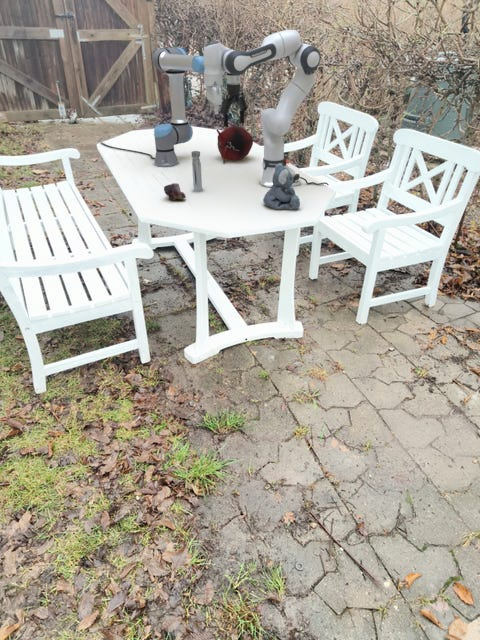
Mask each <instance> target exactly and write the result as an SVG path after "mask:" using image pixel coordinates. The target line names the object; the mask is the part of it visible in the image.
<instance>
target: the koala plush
mask: <svg viewBox="0 0 480 640" xmlns="http://www.w3.org/2000/svg"><path fill="white" fill-rule="evenodd" d="M272 181H273V185H272V187H270V189H268V190H267V191H266V192H265V194H264V196H263V198H262V201H263V203H264V205H265V206H266V207H270V208H272V209H276V210H282V209H284V210H289V211H292V210H298V209H299V208H300V207H301V201H300V198H299V195H296V191H295V188H294V186H292V184H293V183H294V182H295V178H294V177H292V174H291V173H290V171H289V170H288V169H287V168H285V167H283V166H282V165H281V164H278V165H276V167H275V172H274V174H273V180H272Z"/></svg>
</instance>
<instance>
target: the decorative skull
mask: <svg viewBox="0 0 480 640" xmlns="http://www.w3.org/2000/svg"><path fill="white" fill-rule="evenodd" d="M216 132H217V134H218V135H217V149H218V152H219V154H220V157H221V159H223V162H222V163H223V164H225V163H226V161H234V162H235V161H240V160H243V159H245V158H246V157H247V156H248V155H249V153H250V152H251V149H252V148H253V145H254V137H253V136H252V135H251V134H250V132H249V131H248V130H247V129H246V128H244V127H242V126H238V125H233V126H228V127H226V128H225V129H223V130H222V131H220V130H219V129H218V128H217V129H216Z"/></svg>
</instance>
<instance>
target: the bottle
mask: <svg viewBox="0 0 480 640" xmlns="http://www.w3.org/2000/svg"><path fill="white" fill-rule="evenodd" d="M191 170H192V185H193V186H192V187H193V192H195V193H200V192H203V178H202V162H201V159H200V157H192V161H191Z"/></svg>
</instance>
